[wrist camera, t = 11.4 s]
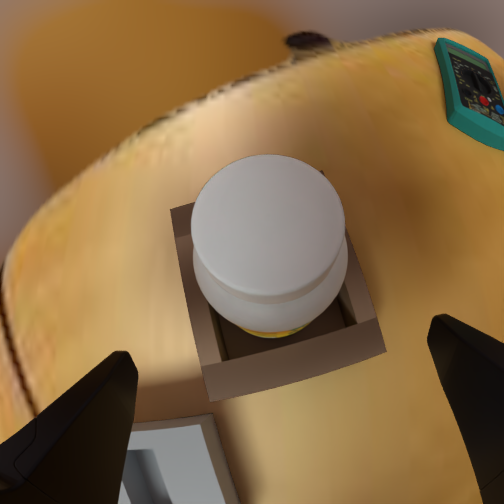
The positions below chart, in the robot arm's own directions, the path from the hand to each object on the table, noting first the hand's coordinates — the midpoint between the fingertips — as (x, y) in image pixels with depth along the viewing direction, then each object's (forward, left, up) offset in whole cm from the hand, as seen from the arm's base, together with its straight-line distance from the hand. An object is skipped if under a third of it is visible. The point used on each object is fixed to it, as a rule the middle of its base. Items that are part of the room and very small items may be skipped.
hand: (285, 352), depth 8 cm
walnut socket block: (+4, -1, -9) cm, 9 cm away
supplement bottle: (+3, 0, -8) cm, 9 cm away
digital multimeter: (+17, -26, -9) cm, 32 cm away
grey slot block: (-6, +8, -9) cm, 14 cm away
